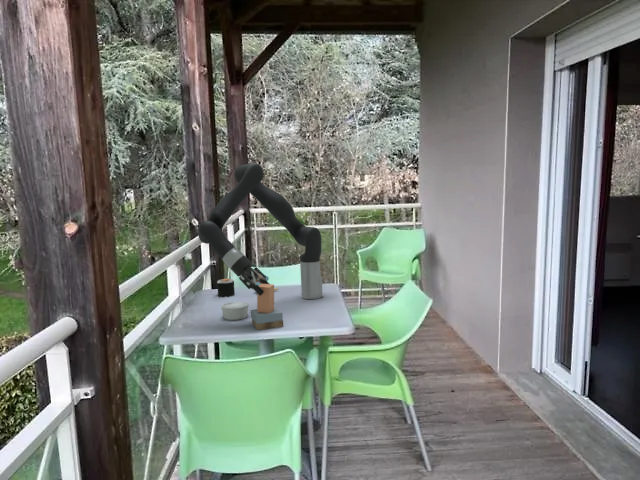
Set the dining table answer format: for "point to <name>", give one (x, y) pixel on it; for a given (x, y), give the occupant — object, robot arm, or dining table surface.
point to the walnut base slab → (267, 325)
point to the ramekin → (235, 310)
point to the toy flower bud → (266, 280)
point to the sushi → (225, 287)
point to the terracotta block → (266, 299)
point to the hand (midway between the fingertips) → (266, 291)
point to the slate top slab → (266, 316)
